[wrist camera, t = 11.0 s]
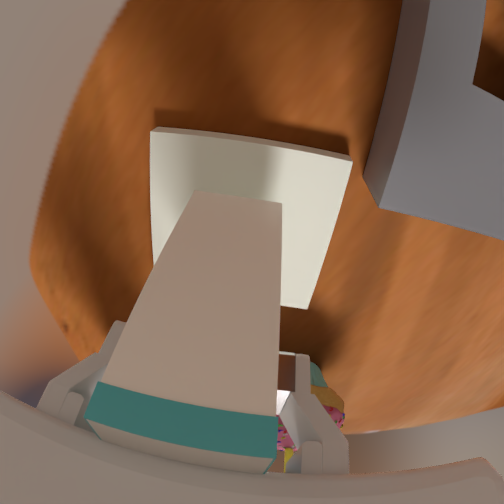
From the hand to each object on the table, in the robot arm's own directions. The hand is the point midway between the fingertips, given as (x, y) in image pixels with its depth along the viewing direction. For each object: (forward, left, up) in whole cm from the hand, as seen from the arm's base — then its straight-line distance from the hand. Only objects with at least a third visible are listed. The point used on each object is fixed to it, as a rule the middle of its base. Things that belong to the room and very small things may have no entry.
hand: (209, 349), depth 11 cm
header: (-11, -14, -9) cm, 20 cm away
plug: (0, 0, -6) cm, 6 cm away
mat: (0, 0, -9) cm, 9 cm away
